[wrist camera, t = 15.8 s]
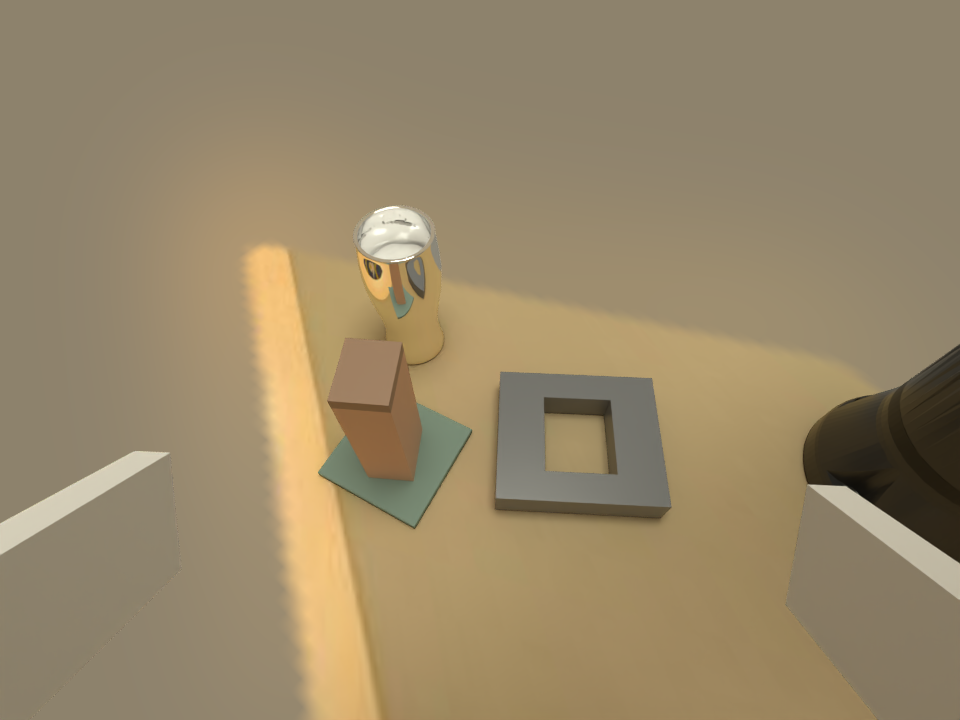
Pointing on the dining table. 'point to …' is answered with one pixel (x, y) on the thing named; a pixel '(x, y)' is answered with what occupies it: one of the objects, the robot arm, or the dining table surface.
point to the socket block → (628, 436)
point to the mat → (402, 496)
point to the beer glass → (403, 277)
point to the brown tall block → (377, 407)
